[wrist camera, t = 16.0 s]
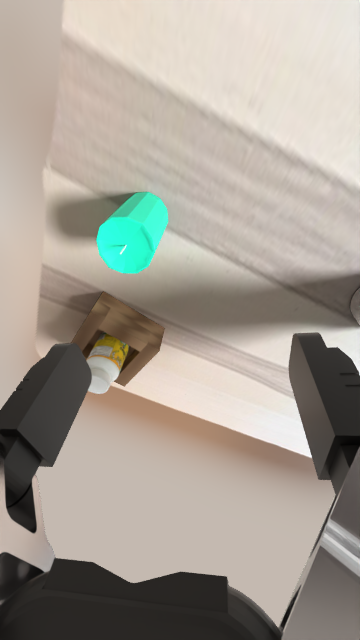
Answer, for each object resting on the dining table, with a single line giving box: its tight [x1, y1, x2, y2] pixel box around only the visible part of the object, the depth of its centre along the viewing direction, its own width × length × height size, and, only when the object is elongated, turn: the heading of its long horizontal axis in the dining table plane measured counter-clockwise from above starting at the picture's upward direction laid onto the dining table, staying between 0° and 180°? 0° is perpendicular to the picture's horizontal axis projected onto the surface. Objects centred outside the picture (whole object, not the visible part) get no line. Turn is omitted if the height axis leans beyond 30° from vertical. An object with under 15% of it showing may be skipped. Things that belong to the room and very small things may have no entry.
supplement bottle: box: [86, 332, 129, 394], centre depth 42 cm, size 5×5×10 cm
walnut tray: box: [71, 291, 165, 386], centre depth 46 cm, size 12×12×6 cm
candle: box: [96, 192, 168, 273], centre depth 30 cm, size 6×6×12 cm
